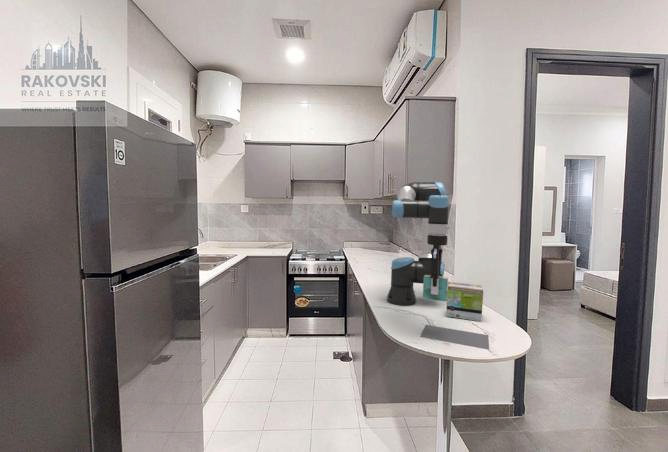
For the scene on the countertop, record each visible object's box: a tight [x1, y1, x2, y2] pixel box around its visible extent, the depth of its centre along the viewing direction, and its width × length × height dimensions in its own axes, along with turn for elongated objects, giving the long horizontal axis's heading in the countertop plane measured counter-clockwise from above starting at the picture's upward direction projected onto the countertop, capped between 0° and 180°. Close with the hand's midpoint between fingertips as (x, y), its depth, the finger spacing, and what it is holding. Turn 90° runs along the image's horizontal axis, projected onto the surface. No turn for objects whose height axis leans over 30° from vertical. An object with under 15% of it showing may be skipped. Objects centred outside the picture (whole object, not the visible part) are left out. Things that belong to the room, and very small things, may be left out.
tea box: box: [445, 281, 484, 322], centre depth 148 cm, size 15×10×15 cm
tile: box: [422, 275, 449, 303], centre depth 127 cm, size 9×3×9 cm, turn 65°
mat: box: [419, 324, 490, 350], centre depth 124 cm, size 24×14×1 cm, turn 65°
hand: (435, 292), depth 127 cm, fingers closed on tile, 3 cm apart
